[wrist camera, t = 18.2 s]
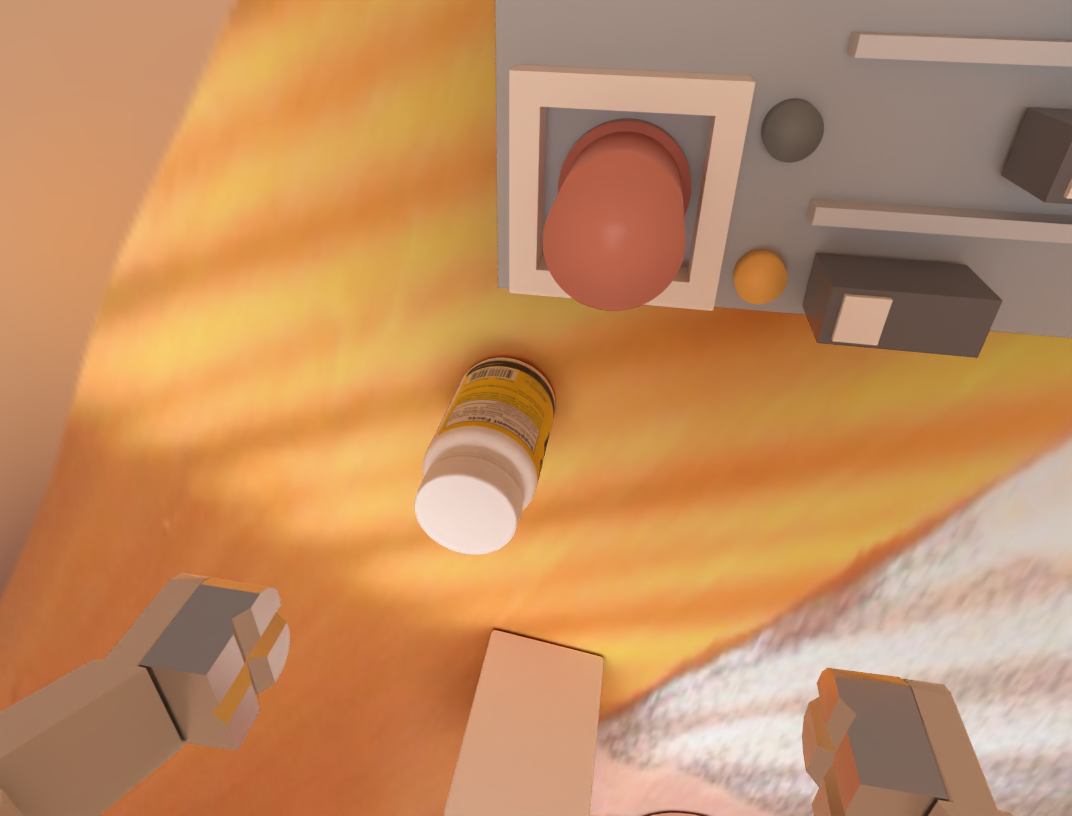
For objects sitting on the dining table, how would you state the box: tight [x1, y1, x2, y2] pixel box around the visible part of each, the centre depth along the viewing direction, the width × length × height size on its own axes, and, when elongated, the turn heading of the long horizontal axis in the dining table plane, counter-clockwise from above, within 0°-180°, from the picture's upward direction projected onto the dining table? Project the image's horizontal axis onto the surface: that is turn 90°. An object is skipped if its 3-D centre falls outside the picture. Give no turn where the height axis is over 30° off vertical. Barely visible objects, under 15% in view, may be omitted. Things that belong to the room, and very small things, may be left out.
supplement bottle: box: [415, 357, 555, 554], centre depth 28 cm, size 5×5×8 cm
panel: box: [495, 0, 1072, 338], centre depth 22 cm, size 24×13×4 cm, turn 89°
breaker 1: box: [802, 253, 1003, 358], centre depth 23 cm, size 5×2×3 cm, turn 89°
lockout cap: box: [543, 118, 691, 311], centre depth 21 cm, size 5×5×6 cm
